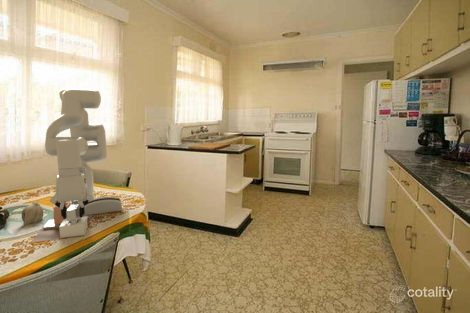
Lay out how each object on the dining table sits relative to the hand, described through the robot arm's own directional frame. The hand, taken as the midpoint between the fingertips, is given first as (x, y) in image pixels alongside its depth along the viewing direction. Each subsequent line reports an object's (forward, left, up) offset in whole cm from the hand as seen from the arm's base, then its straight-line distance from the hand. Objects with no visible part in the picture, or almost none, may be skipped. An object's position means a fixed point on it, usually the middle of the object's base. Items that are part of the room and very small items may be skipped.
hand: (73, 216), depth 105 cm
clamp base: (-10, -4, -6) cm, 13 cm away
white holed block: (0, 0, -6) cm, 6 cm away
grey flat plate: (-5, -4, -8) cm, 10 cm away
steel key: (0, 0, -6) cm, 6 cm away
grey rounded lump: (-18, -19, -8) cm, 27 cm away
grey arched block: (-21, +9, -8) cm, 24 cm away
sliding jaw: (-10, -6, -5) cm, 13 cm away
